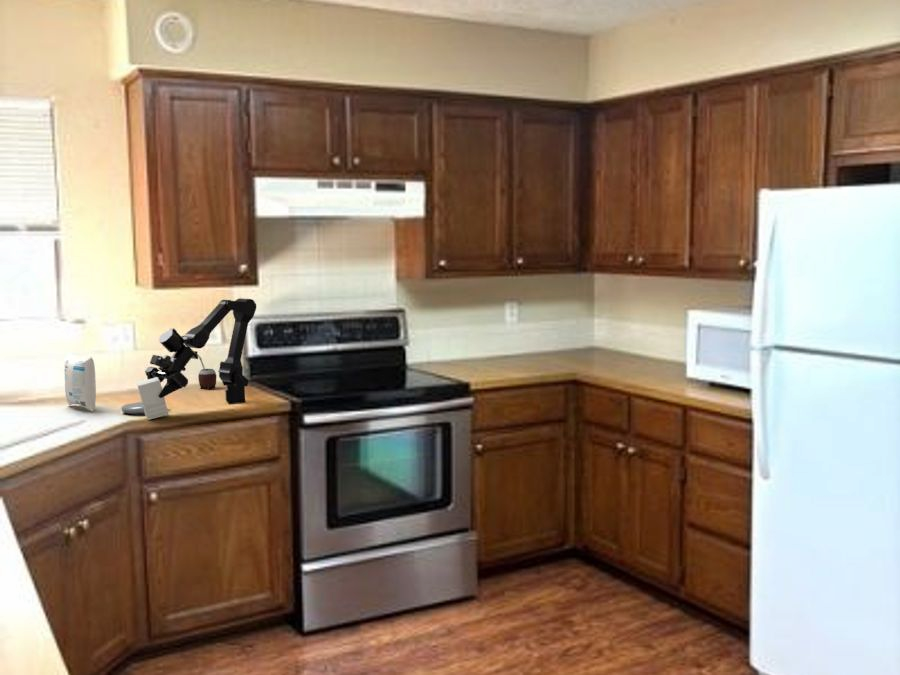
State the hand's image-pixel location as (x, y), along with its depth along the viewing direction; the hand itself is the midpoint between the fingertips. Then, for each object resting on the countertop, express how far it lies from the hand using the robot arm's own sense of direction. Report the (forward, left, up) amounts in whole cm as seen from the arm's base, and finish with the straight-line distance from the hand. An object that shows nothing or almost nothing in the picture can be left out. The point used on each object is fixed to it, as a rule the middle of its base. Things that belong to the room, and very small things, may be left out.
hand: (151, 395), depth 307 cm
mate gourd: (-24, -52, -8) cm, 58 cm away
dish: (+2, -13, -8) cm, 16 cm away
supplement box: (-1, 0, -7) cm, 8 cm away
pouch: (+23, -29, -8) cm, 38 cm away
